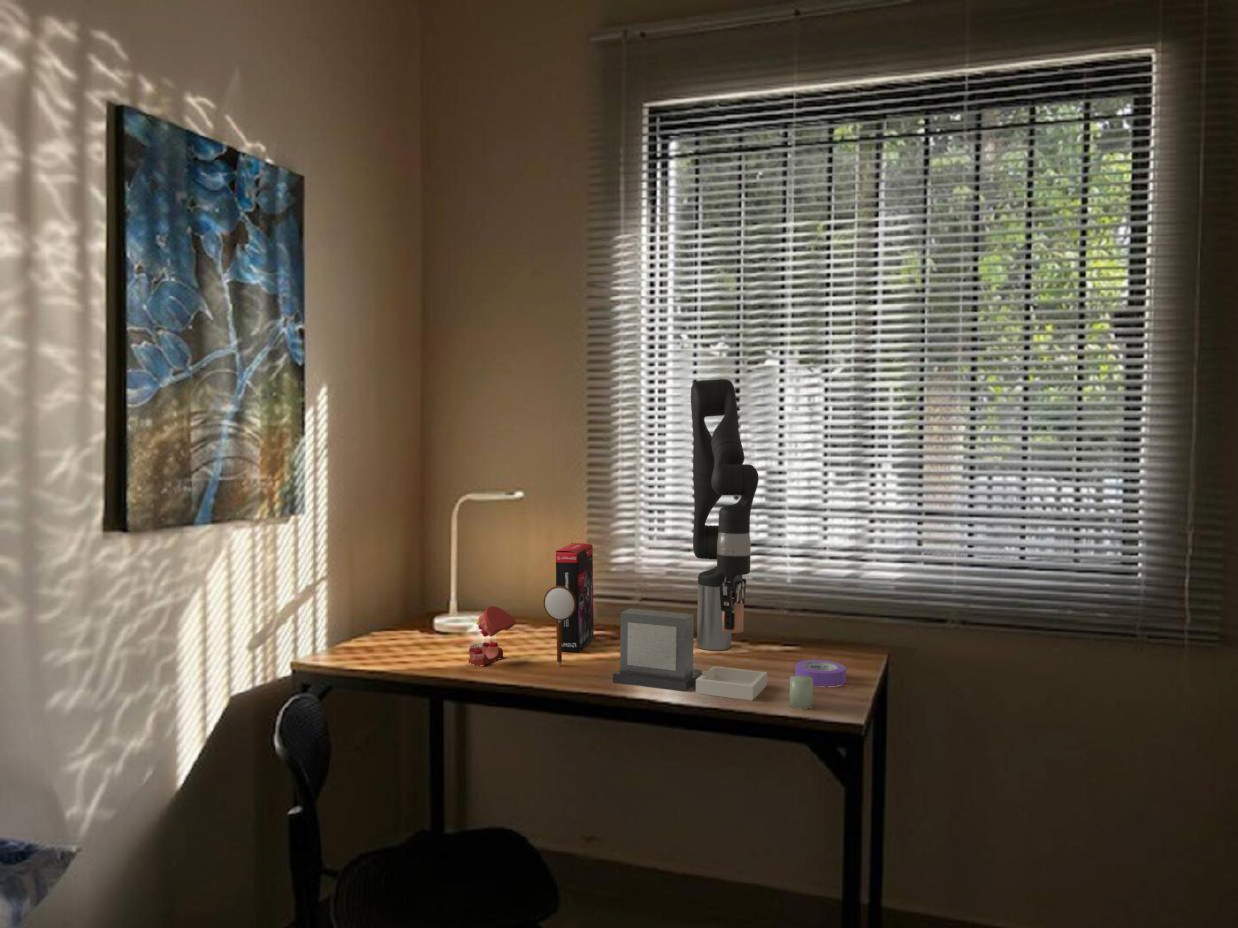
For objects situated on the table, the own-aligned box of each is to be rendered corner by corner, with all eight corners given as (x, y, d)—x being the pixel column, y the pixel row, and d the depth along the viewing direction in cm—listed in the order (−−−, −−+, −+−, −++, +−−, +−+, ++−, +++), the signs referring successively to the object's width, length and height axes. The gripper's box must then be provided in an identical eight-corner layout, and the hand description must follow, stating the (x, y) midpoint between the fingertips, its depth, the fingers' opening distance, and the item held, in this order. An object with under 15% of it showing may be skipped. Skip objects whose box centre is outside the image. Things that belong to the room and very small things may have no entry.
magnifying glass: (576, 666, 224) (577, 586, 223) (574, 668, 222) (574, 587, 222) (544, 663, 227) (545, 584, 226) (542, 664, 225) (542, 585, 225)
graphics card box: (579, 653, 237) (580, 550, 236) (553, 652, 239) (554, 549, 238) (594, 639, 254) (595, 543, 253) (570, 638, 255) (571, 542, 254)
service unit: (632, 669, 221) (632, 605, 221) (702, 678, 214) (703, 611, 214) (612, 681, 210) (613, 613, 210) (685, 691, 203) (686, 620, 203)
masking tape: (852, 688, 208) (853, 671, 208) (803, 689, 207) (803, 672, 207) (836, 675, 219) (836, 659, 219) (789, 675, 218) (789, 659, 218)
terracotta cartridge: (725, 627, 208) (725, 601, 208) (745, 629, 206) (746, 603, 206) (719, 631, 203) (719, 605, 203) (740, 633, 201) (740, 606, 201)
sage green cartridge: (792, 701, 196) (792, 674, 196) (814, 704, 194) (814, 676, 194) (787, 707, 192) (787, 679, 191) (810, 710, 190) (810, 682, 189)
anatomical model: (475, 651, 235) (494, 600, 233) (500, 665, 233) (520, 614, 230) (454, 661, 226) (474, 608, 223) (480, 676, 223) (501, 622, 220)
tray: (712, 679, 214) (713, 666, 213) (766, 685, 208) (767, 672, 208) (695, 693, 202) (695, 679, 201) (752, 700, 196) (752, 686, 196)
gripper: (741, 557, 196) (740, 634, 197) (757, 549, 209) (756, 622, 210) (708, 554, 199) (707, 631, 199) (726, 547, 212) (725, 619, 213)
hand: (732, 626), depth 205 cm, fingers closed on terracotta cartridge, 4 cm apart
